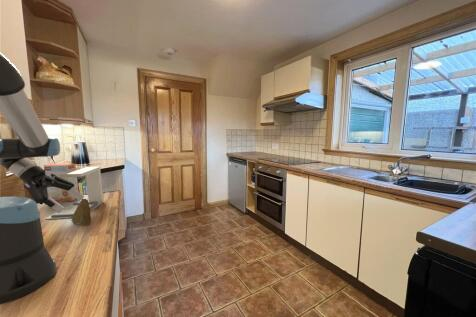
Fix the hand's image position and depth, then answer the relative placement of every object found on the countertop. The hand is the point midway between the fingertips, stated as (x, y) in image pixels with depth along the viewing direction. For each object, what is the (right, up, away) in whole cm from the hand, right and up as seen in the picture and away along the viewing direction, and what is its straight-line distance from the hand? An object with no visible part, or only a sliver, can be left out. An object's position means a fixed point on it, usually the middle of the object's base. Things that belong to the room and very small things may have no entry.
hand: (72, 204), depth 90 cm
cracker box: (-28, -4, +28) cm, 40 cm away
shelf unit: (-9, -6, +14) cm, 18 cm away
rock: (+3, -8, 0) cm, 9 cm away
